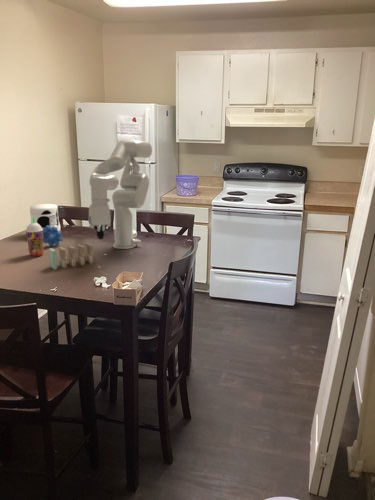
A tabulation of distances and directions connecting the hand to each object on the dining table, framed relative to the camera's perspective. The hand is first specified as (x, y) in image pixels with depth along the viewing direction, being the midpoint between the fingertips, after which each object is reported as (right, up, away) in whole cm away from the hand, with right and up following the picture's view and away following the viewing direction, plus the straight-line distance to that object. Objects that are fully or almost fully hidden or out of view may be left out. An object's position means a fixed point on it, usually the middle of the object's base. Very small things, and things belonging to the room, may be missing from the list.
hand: (100, 238), depth 216 cm
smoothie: (-35, -9, +9) cm, 37 cm away
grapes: (-32, -4, +25) cm, 41 cm away
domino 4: (-9, -12, -2) cm, 15 cm away
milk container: (-42, +3, +47) cm, 64 cm away
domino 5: (-5, -12, +1) cm, 13 cm away
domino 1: (-20, -14, -9) cm, 26 cm away
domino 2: (-17, -14, -7) cm, 22 cm away
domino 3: (-13, -13, -4) cm, 19 cm away
